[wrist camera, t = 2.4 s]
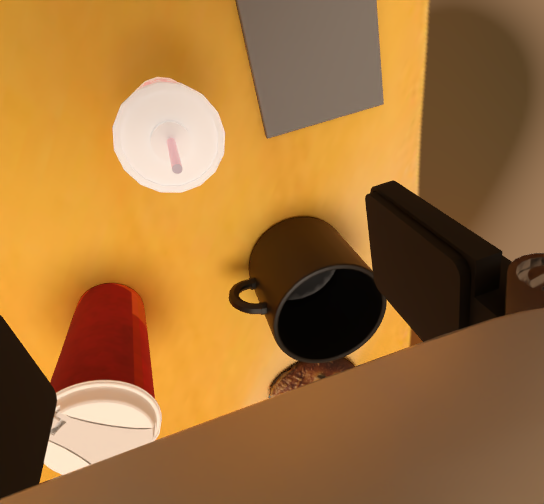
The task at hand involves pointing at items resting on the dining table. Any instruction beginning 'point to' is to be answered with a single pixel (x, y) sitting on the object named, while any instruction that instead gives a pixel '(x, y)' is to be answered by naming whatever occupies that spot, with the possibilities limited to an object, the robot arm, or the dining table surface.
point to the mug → (312, 291)
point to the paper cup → (103, 382)
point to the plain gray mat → (311, 59)
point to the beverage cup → (168, 136)
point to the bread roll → (307, 374)
